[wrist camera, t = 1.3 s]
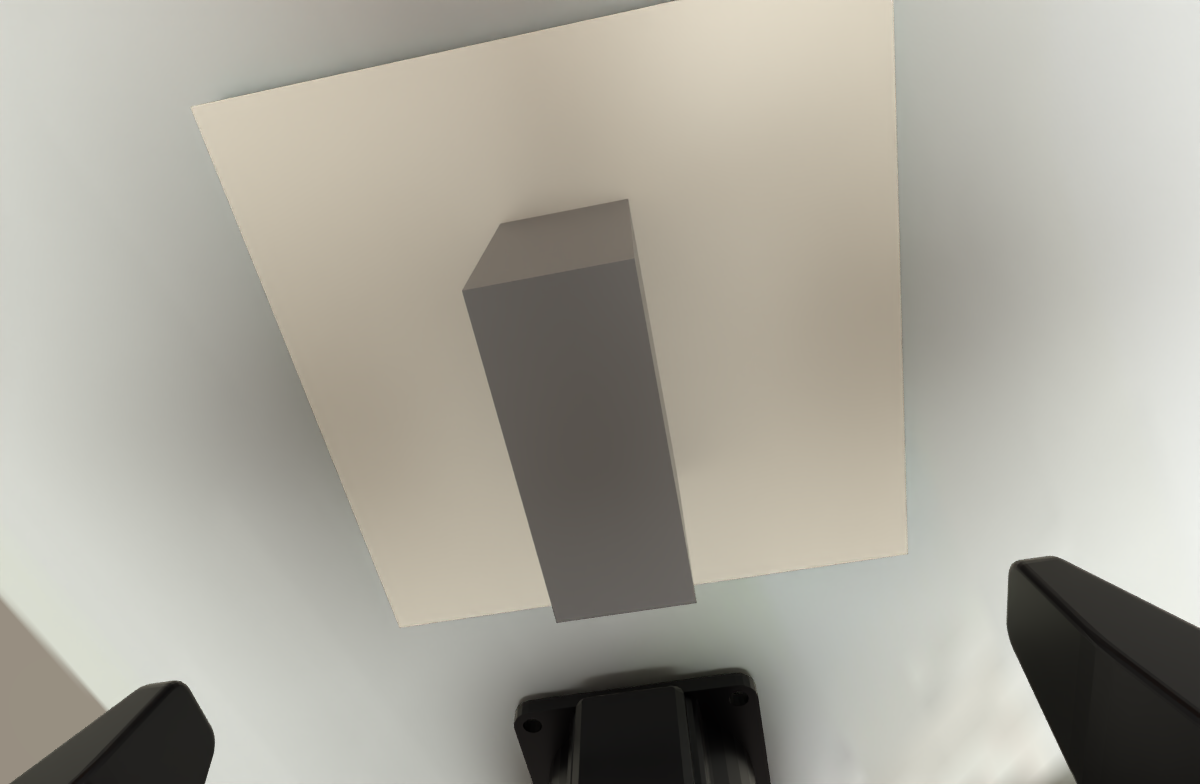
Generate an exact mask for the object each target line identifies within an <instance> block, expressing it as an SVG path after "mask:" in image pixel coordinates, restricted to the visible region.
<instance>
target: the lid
mask: <svg viewBox="0 0 1200 784" xmlns="http://www.w3.org/2000/svg"><path fill="white" fill-rule="evenodd" d="M191 110H192V112H193V115H194V117H195V120H196V122H197V125H198V127H199V130H200V132H201V135H202V137H203V140H204V142H205V145H206V147H207V150H208V152H209V155H210V157H211V160H212V162H213V165H214V167H215V170H216V172H217V175H218V177H219V180H220V182H221V185H222V187H223V190H224V192H225V195H226V197H227V199H228V202H229V204H230V207H231V209H232V212H233V214H234V217H235V219H236V222H237V224H238V227H239V229H240V232H241V234H242V237H243V239H244V242H245V244H246V247H247V249H248V252H249V254H250V257H251V259H252V262H253V264H254V267H255V269H256V272H257V274H258V277H259V279H260V282H261V284H262V287H263V289H264V292H265V294H266V297H267V299H268V302H269V304H270V307H271V309H272V312H273V314H274V316H275V319H276V321H277V324H278V326H279V329H280V331H281V334H282V336H283V339H284V341H285V344H286V346H287V349H288V351H289V354H290V356H291V359H292V361H293V364H294V366H295V369H296V371H297V374H298V376H299V379H300V381H301V384H302V386H303V389H304V391H305V394H306V396H307V399H308V401H309V404H310V406H311V409H312V411H313V414H314V416H315V419H316V421H317V424H318V426H319V429H320V431H321V433H322V436H323V438H324V441H325V443H326V446H327V448H328V451H329V453H330V456H331V458H332V461H333V463H334V466H335V468H336V471H337V473H338V476H339V478H340V481H341V483H342V486H343V488H344V491H345V493H346V496H347V498H348V501H349V503H350V506H351V508H352V511H353V513H354V516H355V518H356V521H357V523H358V526H359V528H360V531H361V533H362V536H363V538H364V541H365V543H366V546H367V548H368V550H369V553H370V555H371V558H372V560H373V563H374V565H375V568H376V570H377V573H378V575H379V578H380V580H381V583H382V585H383V588H384V590H385V593H386V595H387V598H388V600H389V603H390V605H391V608H392V610H393V613H394V615H395V618H396V620H397V623H398V625H399V628H402V627H409V626H416V625H423V624H430V623H437V622H443V621H450V620H457V619H464V618H471V617H478V616H485V615H492V614H499V613H505V612H512V611H519V610H526V609H533V608H540V607H547V606H552V609H553V612H554V616H555V619H556V623H559V622H566V621H573V620H580V619H587V618H594V617H601V616H608V615H615V614H622V613H629V612H636V611H643V610H650V609H657V608H664V607H671V606H678V605H685V604H692V603H696V596H695V590H694V585H698V584H705V583H712V582H719V581H726V580H733V579H740V578H746V577H753V576H760V575H767V574H774V573H781V572H788V571H795V570H802V569H808V568H815V567H822V566H829V565H836V564H843V563H850V562H857V561H863V560H870V559H877V558H884V557H891V556H898V555H905V554H908V545H907V506H906V468H905V430H904V392H903V354H902V316H901V278H900V240H899V202H898V163H897V125H896V87H895V49H894V11H893V0H676V1H671V2H667V3H662V4H658V5H653V6H649V7H644V8H639V9H635V10H630V11H626V12H621V13H617V14H612V15H607V16H603V17H598V18H594V19H589V20H585V21H580V22H575V23H571V24H566V25H562V26H557V27H553V28H548V29H543V30H539V31H534V32H530V33H525V34H521V35H516V36H511V37H507V38H502V39H498V40H493V41H489V42H484V43H479V44H475V45H470V46H466V47H461V48H457V49H452V50H447V51H443V52H438V53H434V54H429V55H425V56H420V57H415V58H411V59H406V60H402V61H397V62H393V63H388V64H383V65H379V66H374V67H370V68H365V69H361V70H356V71H351V72H347V73H342V74H338V75H333V76H329V77H324V78H319V79H315V80H310V81H306V82H301V83H297V84H292V85H287V86H283V87H278V88H274V89H269V90H265V91H260V92H255V93H251V94H246V95H242V96H237V97H233V98H228V99H223V100H219V101H214V102H210V103H205V104H200V105H196V106H191Z"/></svg>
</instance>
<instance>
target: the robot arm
mask: <svg viewBox="0 0 1200 784" xmlns="http://www.w3.org/2000/svg"><path fill="white" fill-rule="evenodd" d="M1007 631H1008V635H1009V639H1010V642H1011V645H1012V647H1013V650H1014V652H1015V654H1016V656H1017V658H1018V660H1019V662H1020V665H1021V667H1022V669H1023V671H1024V673H1025V675H1026V677H1027V679H1028V682H1029V684H1030V686H1031V688H1032V690H1033V692H1034V694H1035V697H1036V699H1037V701H1038V703H1039V705H1040V707H1041V709H1042V711H1043V714H1044V716H1045V718H1046V720H1047V722H1048V724H1049V726H1050V729H1051V731H1052V733H1053V735H1054V737H1055V739H1056V741H1057V743H1058V746H1059V748H1060V750H1061V752H1062V754H1063V756H1064V758H1065V761H1066V763H1067V765H1068V767H1069V769H1070V771H1071V773H1072V775H1073V777H1074V779H1075V781H1076V783H1077V784H1200V628H1199V627H1197V626H1195V625H1193V624H1191V623H1189V622H1187V621H1185V620H1183V619H1181V618H1179V617H1177V616H1175V615H1173V614H1171V613H1169V612H1167V611H1165V610H1163V609H1161V608H1159V607H1157V606H1155V605H1153V604H1151V603H1149V602H1147V601H1145V600H1143V599H1141V598H1139V597H1137V596H1135V595H1133V594H1131V593H1129V592H1127V591H1125V590H1123V589H1121V588H1119V587H1117V586H1115V585H1113V584H1111V583H1109V582H1107V581H1105V580H1103V579H1101V578H1099V577H1097V576H1095V575H1093V574H1091V573H1089V572H1087V571H1085V570H1083V569H1081V568H1079V567H1077V566H1075V565H1073V564H1071V563H1069V562H1067V561H1065V560H1063V559H1061V558H1058V557H1055V556H1045V557H1038V558H1031V559H1024V560H1018V561H1016V562H1014V563H1013V564H1012V565H1011V567H1010V569H1009V575H1008V598H1007ZM736 692H742V693H740V694H733V693H736ZM530 719H536V720H530ZM514 729H515V732H516V735H517V738H518V740H519V743H520V746H521V749H522V752H523V755H524V758H525V761H526V764H527V767H528V770H529V773H530V775H531V778H532V781H533V784H771V782H770V775H769V769H768V762H767V755H766V748H765V741H764V734H763V727H762V720H761V714H760V707H759V700H758V694H757V690H756V685H755V683H754V680H753V679H752V678H751V677H749V676H748V675H745V674H742V673H733V674H725V675H718V676H710V677H703V678H695V679H688V680H680V681H673V682H665V683H658V684H650V685H643V686H635V687H628V688H620V689H613V690H605V691H598V692H590V693H583V694H575V695H568V696H560V697H553V698H545V699H538V700H530V701H527V702H523V703H522V704H520V705H519V706H518V708H517V709H516V713H515V720H514ZM214 747H215V737H214V733H213V729H212V727H211V725H210V724H209V722H208V720H207V718H206V717H205V715H204V713H203V711H202V710H201V708H200V706H199V704H198V703H197V701H196V699H195V697H194V696H193V694H192V692H191V690H190V689H189V687H188V686H187V685H186V684H184V683H182V682H181V681H167V682H160V683H153V684H148V685H145V686H142V687H140V688H138V689H137V690H135V691H134V692H133V693H131V694H130V695H129V696H127V697H126V698H125V699H123V700H122V701H121V702H119V703H118V704H117V705H115V706H114V707H112V708H111V709H110V710H108V711H107V712H106V713H104V714H103V715H102V716H100V717H99V718H98V719H96V720H95V721H94V722H92V723H91V724H90V725H88V726H87V727H85V728H84V729H83V730H82V731H80V732H79V733H77V734H76V735H75V736H73V737H72V738H71V739H69V740H68V741H67V742H65V743H64V744H63V745H61V746H60V747H59V748H57V749H56V750H54V751H53V752H52V753H50V754H49V755H48V756H46V757H45V758H44V759H42V760H41V761H40V762H39V763H37V764H35V765H34V766H33V767H32V768H30V769H29V770H27V771H26V772H25V773H23V774H22V775H21V776H19V777H18V778H17V779H15V780H14V781H13V782H11V783H10V784H205V781H206V778H207V774H208V771H209V768H210V764H211V761H212V758H213V754H214Z"/></svg>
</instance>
